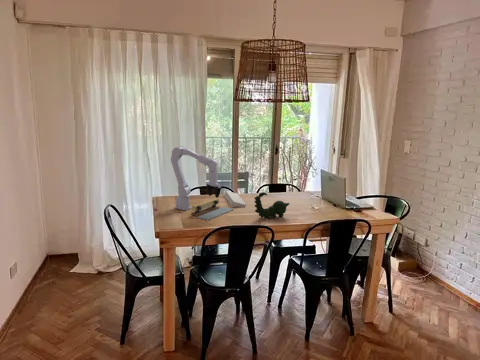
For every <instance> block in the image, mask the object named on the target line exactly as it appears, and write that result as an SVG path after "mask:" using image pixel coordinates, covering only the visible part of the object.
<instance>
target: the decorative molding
mask: <svg viewBox="0 0 480 360" xmlns="http://www.w3.org/2000/svg"><path fill="white" fill-rule="evenodd" d="M223 195H224V197H225V199H226V201H227V200H228V201H227V202H228V204H229V205H230V206H231V207H230V208H236V207H237V208H238V207H239V208H243V207H244V208H245V207H246V206H247V205H246V203H245V201H244V200H243V199H242V198H241V196H240V195H239V193H236V192H232V191H230V190H225V192H224V194H223Z"/></svg>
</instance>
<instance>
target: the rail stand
mask: <svg viewBox="0 0 480 360" xmlns="http://www.w3.org/2000/svg"><path fill="white" fill-rule="evenodd" d="M218 205H219V203H218V200H216V201H215V204H214V205H211V206H208V207H206V208H203V209H201V206H199V207H198V210H197V211H192V212H191V215H192V216H196V217H198V216H201V215H203V214H206V213H209V212H211V211H214V210H217V209H219V208H220V206H218Z"/></svg>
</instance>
